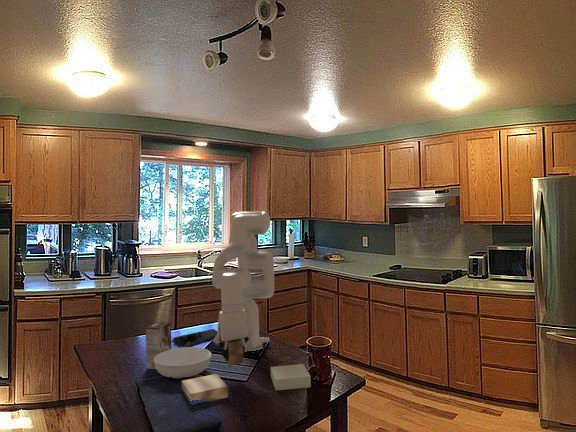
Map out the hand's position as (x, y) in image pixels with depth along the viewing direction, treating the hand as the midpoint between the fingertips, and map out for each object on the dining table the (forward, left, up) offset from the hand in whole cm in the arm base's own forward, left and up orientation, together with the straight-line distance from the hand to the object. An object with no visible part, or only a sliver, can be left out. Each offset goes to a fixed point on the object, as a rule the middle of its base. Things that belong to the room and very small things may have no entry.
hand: (233, 357), depth 149 cm
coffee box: (+21, -29, -8) cm, 37 cm away
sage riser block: (-16, +12, -8) cm, 22 cm away
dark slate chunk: (-2, -55, -9) cm, 56 cm away
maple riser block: (+13, +7, -8) cm, 17 cm away
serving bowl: (+15, -15, -8) cm, 22 cm away
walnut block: (0, 0, -2) cm, 2 cm away
